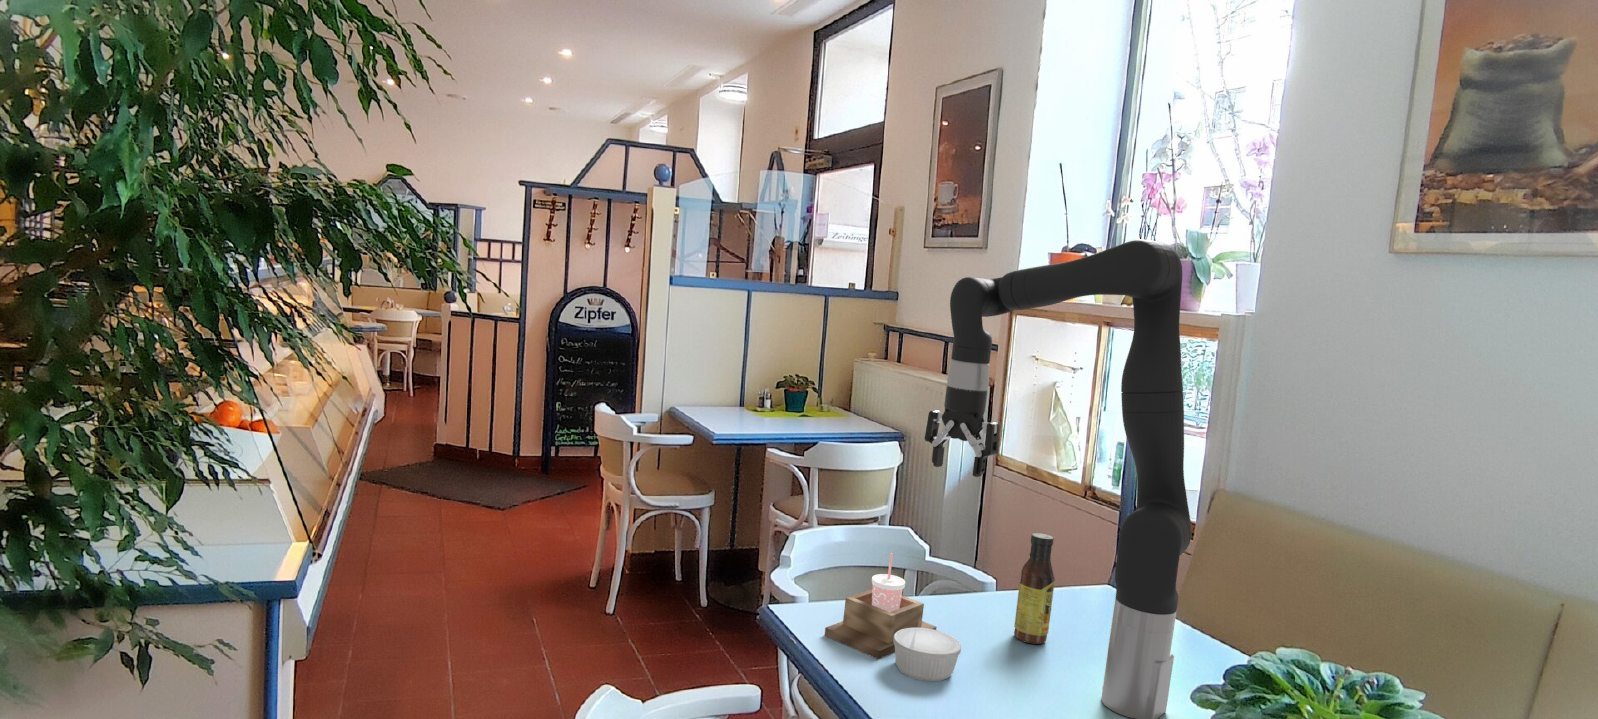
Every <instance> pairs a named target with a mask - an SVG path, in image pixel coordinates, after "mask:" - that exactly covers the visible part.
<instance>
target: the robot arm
mask: <svg viewBox="0 0 1598 719" xmlns="http://www.w3.org/2000/svg"><path fill="white" fill-rule="evenodd" d="M1182 288H1183V264H1182V261H1181V258H1180V256H1179V254H1178V252H1177V251H1176V250H1175V248H1173V247H1172V246H1171V245H1169V244H1167V243H1165V242H1162V241H1158V240H1157V241H1155V240H1149V239H1140V238H1138V239H1132V240H1129V241H1125V242H1122V243H1121V244H1117V245H1116V246H1112V247H1110V248H1107V249H1105V250H1102V251H1099V252H1096V253H1094V254H1090V255H1087V256H1084V257H1081V258H1077V259H1073V260H1069V261H1063V262H1058V263H1051V264H1045V265H1038V266H1033V267H1027V268H1022V269H1018V270H1013V271H1010V272H1007V273H1006V274H1004V275H1003V276H1002V277H995V278H981V277H974V276H965V277H963V278H961V279H959V280H958V281H957V282H956V283H955V285H954V286H953V288H952V290H951V294H950V300H949V309H950V319H951V326H952V327H951V328H952V333H953V340H952V341H953V342H952V350H951V358H950V364H949V368H948V372H947V378H946V381H947V382H946V388H945V396H944V397H945V398H944V403H943V404H944V412H941V410H930V411H929V412H928V415H927V420H926V422H927V423H926V428H925V433H924V434H925V435H924V441H925V442H927V443H929V444H931V445H932V447H933V448H932V455H931V463H932V464H933V467H936V468H941V467H943V465H944V456H945V455H944V454H945V446H944V445H945V444H946V443H947V442H948V441H949V440H951V439H955V440H956V439H958V440H960V441H962V442H968V444H969V446H970V447H971V448H972V449H973V451H974V454H975V456H974V462H973V467H972V468H973V469H972V476H973V477H976V478H979V477H982V475H984V473H985V472H986V462H987V457H989V456H995V455H997V454H998V446H999V435H1000V433H999V432H1000V424H999V422H996V421H995V422H987V421H985V419H984V416H985V412H986V406H987V405H986V404H987V400H988V390H989V382H990V363H991V353H992V347H993V346H992V345H993V337H992V334H990V333H989V332H988V331H986V330H984V326H983V317H984V318H987V317H988V318H989V317H996V316H1000V315H1005V314H1009V313H1012V312H1014V311H1021V310H1029V309H1036V308H1041V307H1042V308H1043V307H1047V306H1052V305H1056V304H1060V303H1063V302H1065V301H1069V300H1073V299H1076V298H1081V297H1087V296H1098V295H1099V296H1101V295H1103V296H1106V295H1109V296H1127V297H1129V298H1131V299H1132V306H1133V307H1132V308H1133V325H1134V326H1133V334H1132V340H1131V344H1130V348H1129V351H1128V354H1127V357H1126V359H1125V360H1126V361H1125V363H1124V368H1123V372H1122V376H1121V385H1120V390H1121V414H1122V421H1123V422H1122V423H1123V427H1124V432H1125V436H1126V439H1127V442H1128V447H1129V448H1130V452H1131V455H1132V458H1133V460H1134V466H1135V468H1136V469H1135V470H1136V471H1135V472H1136V507H1135V510H1133V511H1132V512H1130V514H1128V515H1127V516H1126V517H1125V518H1124V521H1123V523H1122V525H1121V528H1120V530H1119V536H1118V537H1119V538H1118V545H1117V552H1116V559H1115V560H1116V561H1115V570H1114V572H1115V573H1114V581H1115V582H1114V583H1115V585H1116V586H1115V587H1116V593H1115V598H1114V605H1113V611H1112V618H1111V626H1110V633H1109V639H1108V640H1109V641H1108V647H1107V654H1106V655H1107V656H1106V662H1105V669H1104V670H1105V671H1104V675H1103V676H1104V677H1103V683H1102V691H1101V698H1100V700H1101V702H1102V703H1103V706H1105V707H1107V709H1109V710H1111V711H1113V712H1114V713H1116V714H1119V715H1120V716H1125V717H1128V718H1131V719H1159V718H1160V717H1162V716H1163V715H1164V714H1165V713H1166V712H1167V706H1168V698H1169V693H1170V688H1171V687H1170V686H1171V679H1172V674H1173V673H1172V672H1173V665H1174V660H1175V659H1174V658H1175V656H1174V654H1172V653H1171V652H1172V645H1173V644H1172V643H1173V638H1174V629H1175V623H1176V618H1177V617H1176V616H1177V610H1178V604H1179V593H1178V591H1177V577H1178V570H1179V563H1180V562H1179V561H1180V557H1181V555H1183V553H1185V551H1186V550H1187V549H1188V547H1189V546H1190V543H1191V541H1192V540H1191V539H1192V533H1193V532H1192V530H1193V529H1192V522H1191V515H1190V509H1189V503H1188V498H1187V497H1188V496H1187V491H1186V484H1185V472H1184V470H1185V469H1184V468H1185V467H1184V466H1185V465H1184V459H1185V408H1184V406H1185V405H1184V403H1185V401H1184V384H1183V372H1182V370H1183V369H1182V351H1181V349H1182V348H1181V337H1180V336H1181V335H1180V334H1181V333H1180V317H1181V316H1180V315H1181V313H1180V312H1181V302H1182V301H1181V300H1182V299H1181V298H1182ZM941 422H942V423H943V426H944V427H943V428H942V429H941V430H940V431H939V427H940V423H941ZM982 430H984V431H983V432H984V434H985V439H984V437H983V435H982V433H981V431H982ZM938 432H939V433H938Z"/></svg>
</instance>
